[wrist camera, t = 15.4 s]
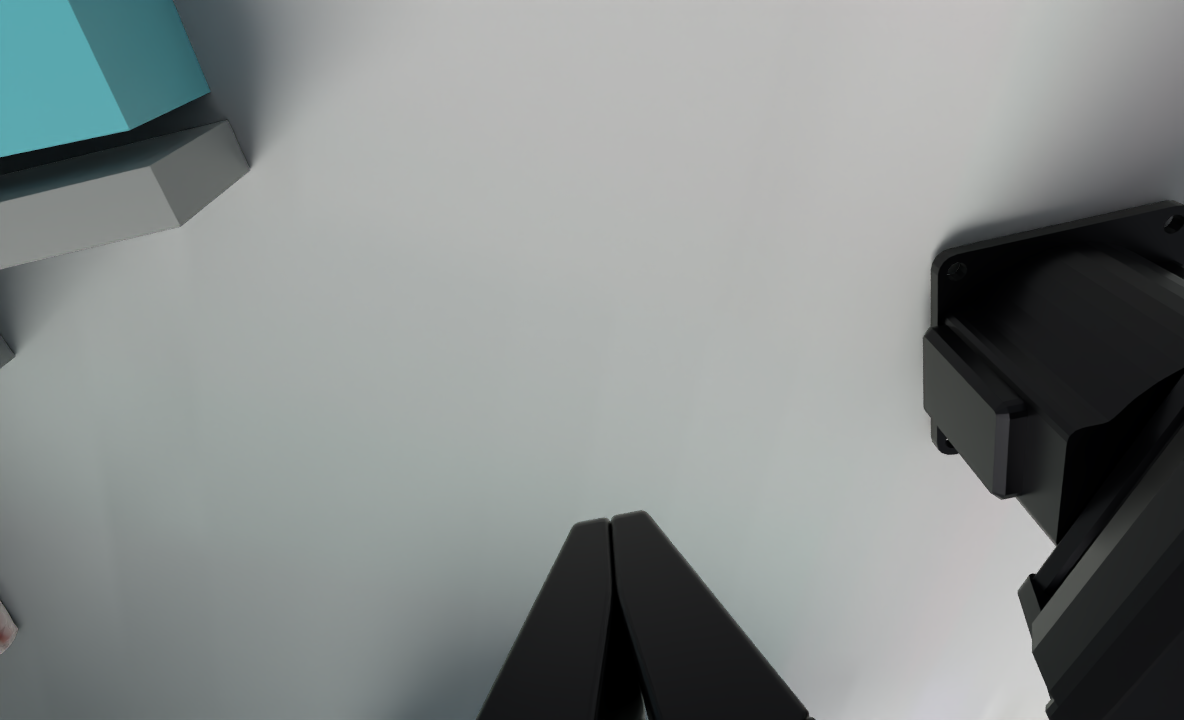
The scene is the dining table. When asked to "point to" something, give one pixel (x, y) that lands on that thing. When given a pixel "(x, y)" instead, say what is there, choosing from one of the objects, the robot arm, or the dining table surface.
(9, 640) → the towel
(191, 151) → the socket
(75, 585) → the dining table surface
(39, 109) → the plug
